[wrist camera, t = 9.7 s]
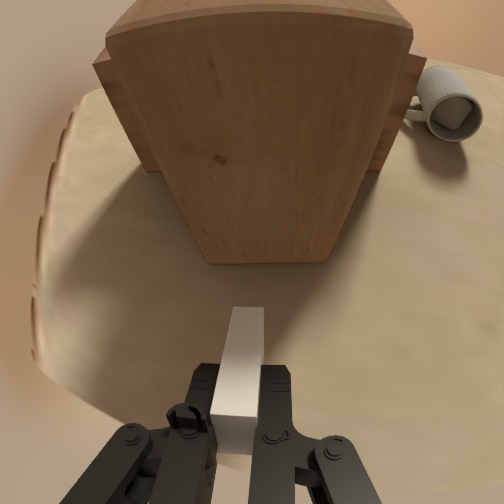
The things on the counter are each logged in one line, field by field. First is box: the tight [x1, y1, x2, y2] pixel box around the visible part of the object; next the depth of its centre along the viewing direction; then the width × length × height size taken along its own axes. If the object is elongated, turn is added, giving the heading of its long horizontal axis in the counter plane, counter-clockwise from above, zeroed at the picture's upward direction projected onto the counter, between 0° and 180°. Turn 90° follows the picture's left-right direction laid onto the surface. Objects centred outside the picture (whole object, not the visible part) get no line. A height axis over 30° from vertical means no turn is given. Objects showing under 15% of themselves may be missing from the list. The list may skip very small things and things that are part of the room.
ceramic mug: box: [404, 66, 483, 142], centre depth 28 cm, size 11×8×8 cm
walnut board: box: [92, 41, 427, 172], centre depth 23 cm, size 24×3×14 cm, turn 89°
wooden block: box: [106, 0, 413, 264], centre depth 17 cm, size 10×10×20 cm
